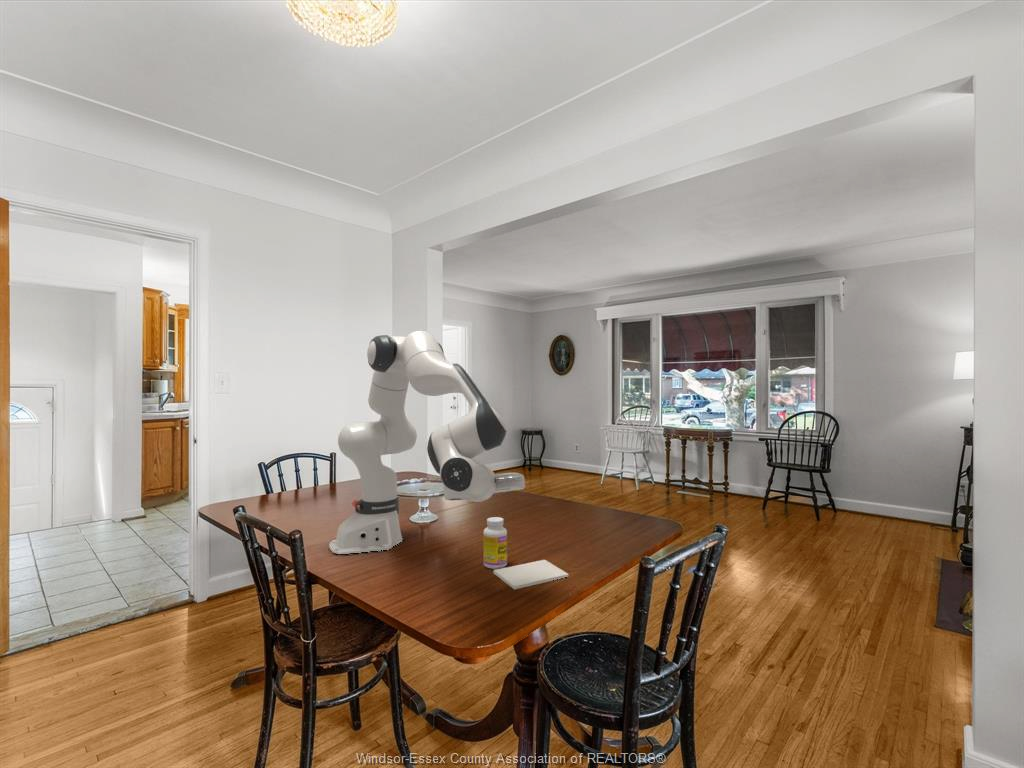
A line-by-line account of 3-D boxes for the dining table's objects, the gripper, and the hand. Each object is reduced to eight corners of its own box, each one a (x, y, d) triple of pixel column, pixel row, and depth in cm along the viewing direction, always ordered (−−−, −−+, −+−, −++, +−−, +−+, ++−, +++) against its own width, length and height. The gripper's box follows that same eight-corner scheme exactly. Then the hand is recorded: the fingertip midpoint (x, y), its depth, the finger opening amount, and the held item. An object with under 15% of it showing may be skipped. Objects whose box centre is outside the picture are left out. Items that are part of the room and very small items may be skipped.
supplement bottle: (498, 571, 133) (498, 523, 133) (478, 566, 136) (478, 520, 136) (511, 563, 139) (511, 518, 139) (492, 559, 142) (491, 514, 142)
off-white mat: (514, 589, 121) (514, 586, 121) (493, 573, 132) (493, 570, 132) (568, 577, 128) (568, 574, 128) (544, 562, 139) (544, 559, 139)
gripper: (518, 464, 118) (528, 472, 131) (437, 474, 122) (455, 481, 134) (520, 490, 116) (531, 496, 129) (438, 500, 120) (457, 505, 132)
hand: (492, 488), depth 132 cm, fingers open, 8 cm apart
